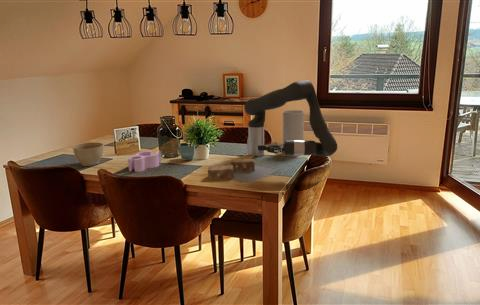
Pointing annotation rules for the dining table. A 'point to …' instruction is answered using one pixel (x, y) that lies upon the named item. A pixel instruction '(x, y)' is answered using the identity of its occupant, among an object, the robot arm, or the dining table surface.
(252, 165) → the two dot tile
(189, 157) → the flower pot
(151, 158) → the clip
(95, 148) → the planter bowl
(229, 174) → the one dot tile
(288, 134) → the cylinder vase
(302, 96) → the robot arm
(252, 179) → the felt board
